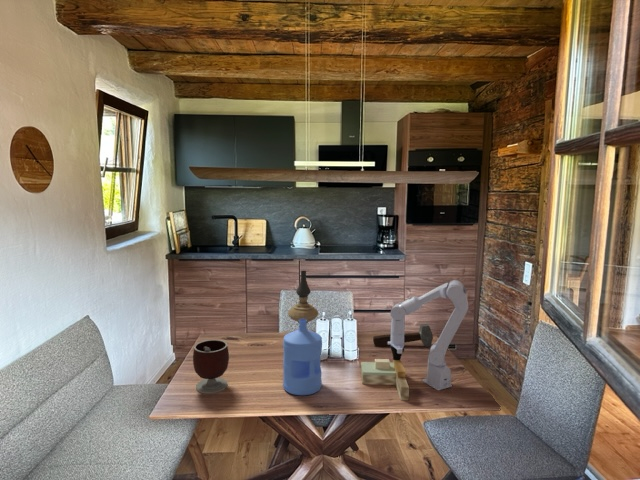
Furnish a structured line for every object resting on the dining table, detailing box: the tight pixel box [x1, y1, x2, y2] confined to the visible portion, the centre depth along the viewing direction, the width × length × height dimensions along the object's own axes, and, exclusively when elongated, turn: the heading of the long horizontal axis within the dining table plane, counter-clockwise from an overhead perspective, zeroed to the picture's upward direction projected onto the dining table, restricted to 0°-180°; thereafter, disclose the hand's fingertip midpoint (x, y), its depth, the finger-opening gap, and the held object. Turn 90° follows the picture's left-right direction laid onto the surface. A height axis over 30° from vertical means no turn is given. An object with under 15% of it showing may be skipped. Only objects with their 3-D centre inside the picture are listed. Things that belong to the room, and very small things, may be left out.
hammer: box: [372, 323, 434, 348], centre depth 209 cm, size 5×11×30 cm
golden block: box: [392, 359, 406, 379], centre depth 168 cm, size 3×11×2 cm, turn 179°
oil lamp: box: [287, 270, 320, 330], centre depth 199 cm, size 15×15×40 cm
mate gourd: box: [192, 339, 230, 395], centre depth 162 cm, size 16×14×20 cm
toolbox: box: [360, 366, 410, 401], centre depth 166 cm, size 17×22×5 cm
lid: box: [360, 358, 396, 376], centre depth 172 cm, size 17×10×5 cm, turn 89°
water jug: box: [282, 319, 323, 396], centre depth 163 cm, size 16×16×28 cm
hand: (396, 363), depth 175 cm, fingers closed
